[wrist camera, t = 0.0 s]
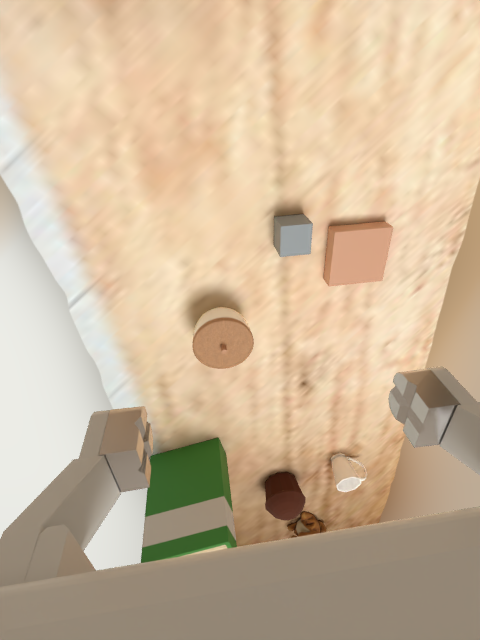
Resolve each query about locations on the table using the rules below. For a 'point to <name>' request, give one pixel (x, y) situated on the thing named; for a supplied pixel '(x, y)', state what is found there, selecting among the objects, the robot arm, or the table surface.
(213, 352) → the lidded jar
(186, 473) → the hardback book
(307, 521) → the stuffed squirrel
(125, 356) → the table surface
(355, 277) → the pedestal
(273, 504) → the muffin
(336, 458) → the cup
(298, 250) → the cube
